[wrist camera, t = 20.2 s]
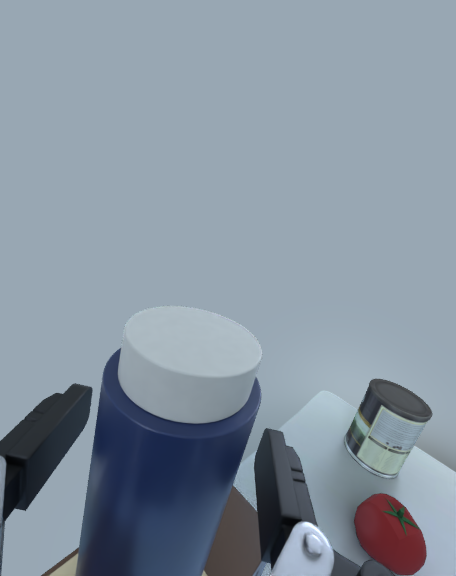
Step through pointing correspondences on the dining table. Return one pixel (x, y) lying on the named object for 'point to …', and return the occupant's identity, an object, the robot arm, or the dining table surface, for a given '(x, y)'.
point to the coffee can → (386, 427)
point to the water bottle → (167, 442)
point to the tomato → (390, 534)
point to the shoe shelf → (215, 544)
